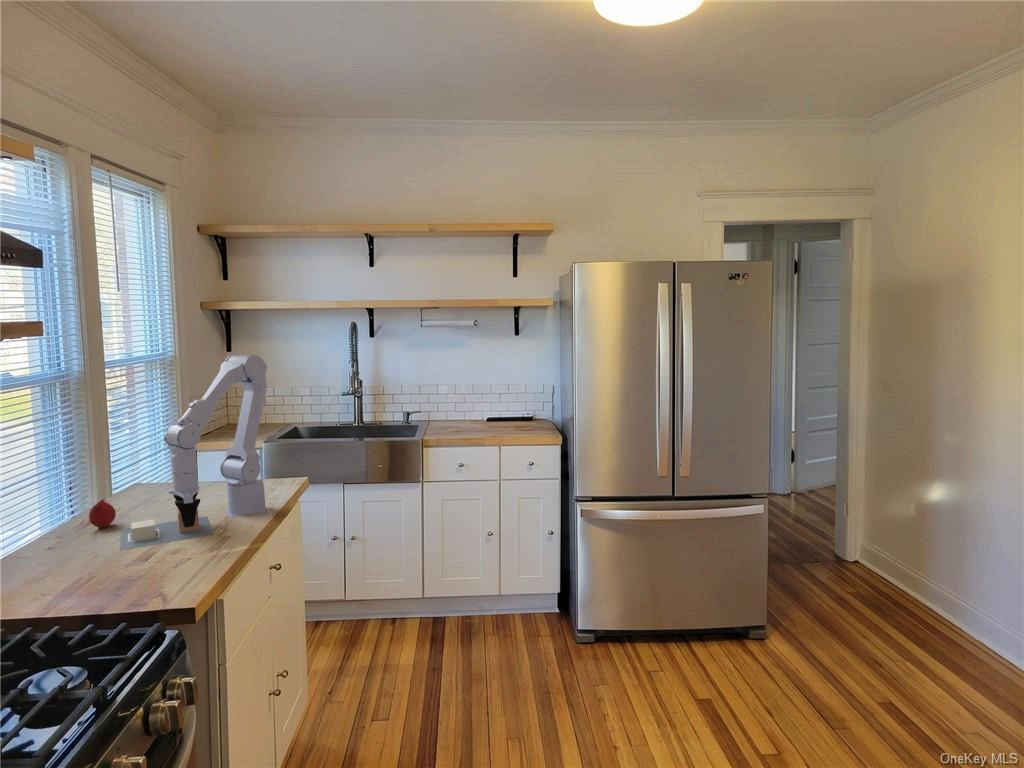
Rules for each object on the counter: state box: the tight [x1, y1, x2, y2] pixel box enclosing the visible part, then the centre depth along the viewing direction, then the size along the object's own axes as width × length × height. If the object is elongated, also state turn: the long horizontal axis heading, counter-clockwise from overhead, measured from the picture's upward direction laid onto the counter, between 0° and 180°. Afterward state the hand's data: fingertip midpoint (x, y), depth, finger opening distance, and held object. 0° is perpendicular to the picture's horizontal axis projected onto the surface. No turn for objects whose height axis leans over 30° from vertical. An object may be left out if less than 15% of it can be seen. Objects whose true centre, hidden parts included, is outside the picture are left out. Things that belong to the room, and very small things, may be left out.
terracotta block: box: [176, 508, 199, 533], centre depth 164 cm, size 4×4×5 cm
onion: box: [88, 498, 116, 529], centre depth 166 cm, size 6×6×8 cm
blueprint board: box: [119, 516, 214, 551], centre depth 162 cm, size 20×16×4 cm
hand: (188, 523), depth 164 cm, fingers open, 5 cm apart
